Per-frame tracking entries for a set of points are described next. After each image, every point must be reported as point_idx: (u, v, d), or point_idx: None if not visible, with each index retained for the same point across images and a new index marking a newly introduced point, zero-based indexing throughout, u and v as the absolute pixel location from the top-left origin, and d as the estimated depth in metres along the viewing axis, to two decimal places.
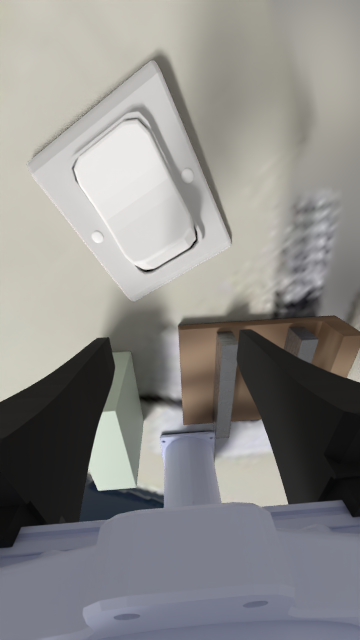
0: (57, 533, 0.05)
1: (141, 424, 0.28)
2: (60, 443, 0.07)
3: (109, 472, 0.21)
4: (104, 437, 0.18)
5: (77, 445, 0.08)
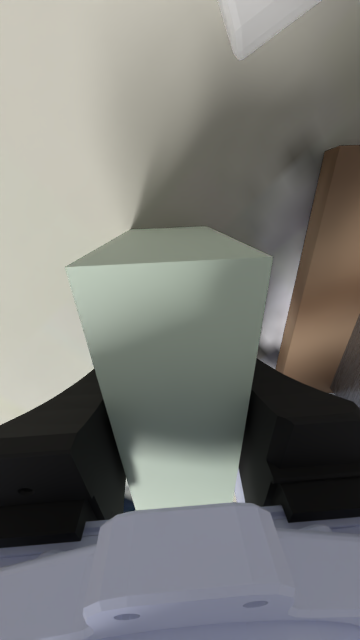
0: None
1: None
2: (110, 439, 0.07)
3: (177, 492, 0.08)
4: (195, 384, 0.06)
5: None
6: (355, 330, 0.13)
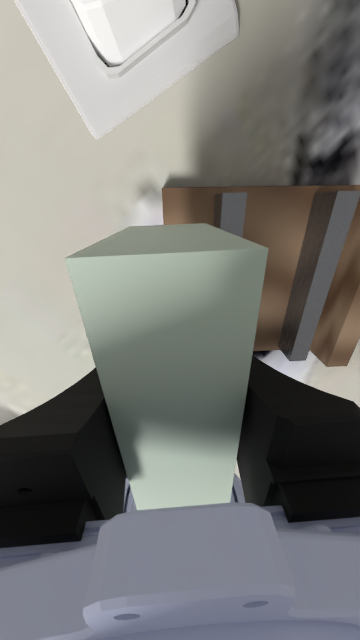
0: None
1: None
2: (110, 439, 0.07)
3: (176, 485, 0.08)
4: (193, 375, 0.06)
5: None
6: None
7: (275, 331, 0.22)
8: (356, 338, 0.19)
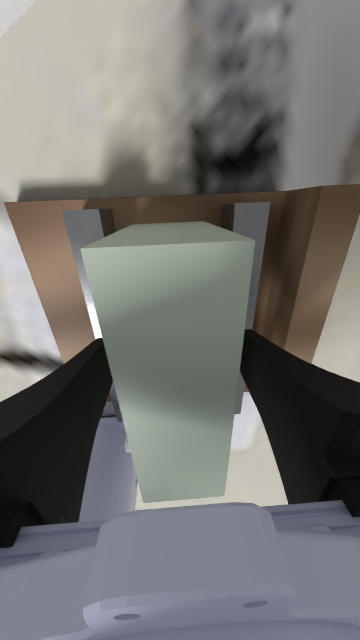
0: (57, 533, 0.05)
1: None
2: (60, 443, 0.07)
3: (176, 462, 0.09)
4: (191, 355, 0.06)
5: (77, 445, 0.08)
6: None
7: None
8: None
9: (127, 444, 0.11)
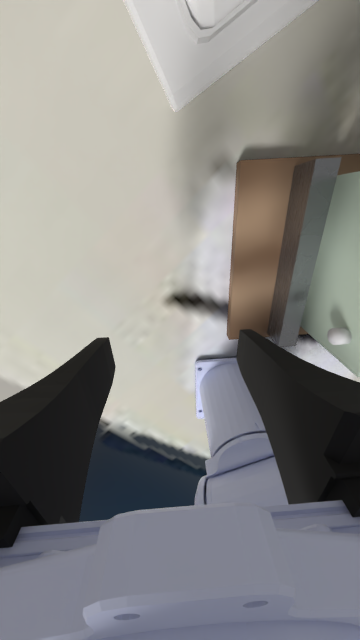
0: (57, 533, 0.05)
1: None
2: (60, 443, 0.07)
3: None
4: None
5: (77, 445, 0.08)
6: (275, 285, 0.19)
7: None
8: None
9: (341, 335, 0.14)
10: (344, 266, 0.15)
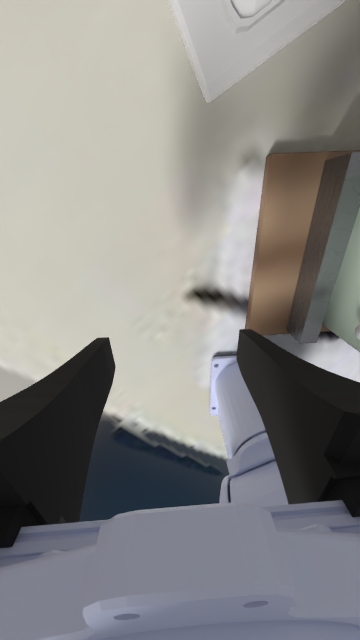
0: (57, 533, 0.05)
1: None
2: (60, 443, 0.07)
3: None
4: None
5: (77, 445, 0.08)
6: (298, 281, 0.19)
7: None
8: None
9: None
10: None
